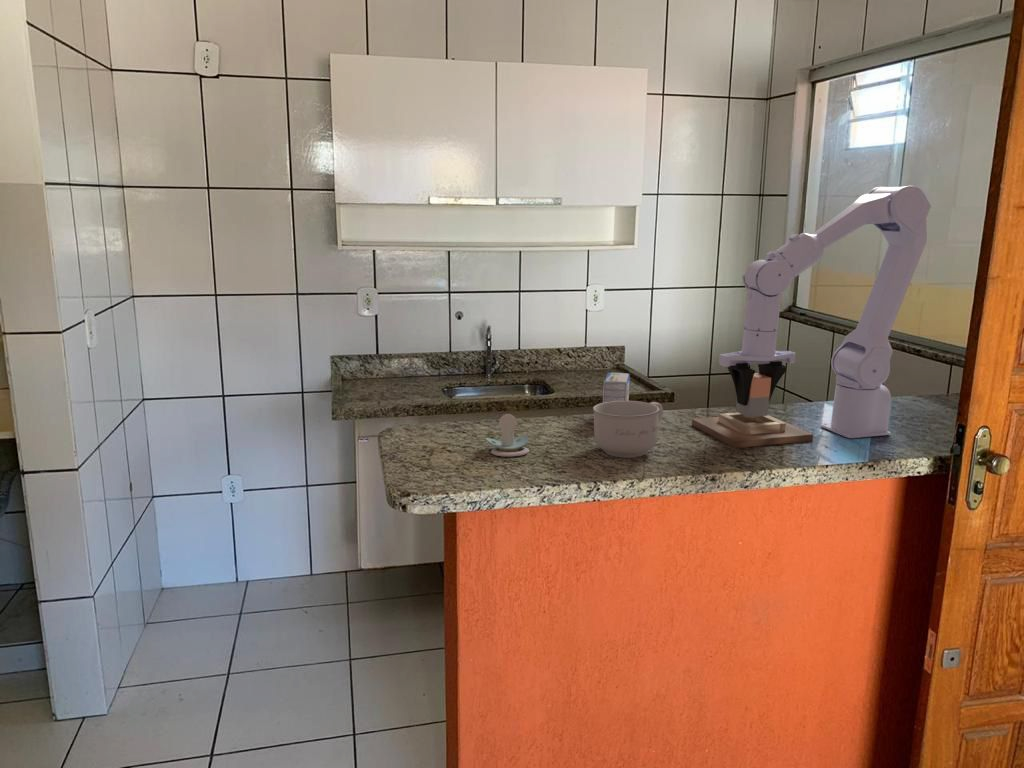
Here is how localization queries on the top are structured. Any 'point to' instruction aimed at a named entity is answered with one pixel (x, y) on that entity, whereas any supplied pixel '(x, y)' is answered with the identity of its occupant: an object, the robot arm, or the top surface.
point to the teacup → (626, 427)
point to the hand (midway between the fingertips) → (753, 403)
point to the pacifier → (509, 439)
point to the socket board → (751, 430)
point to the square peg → (757, 397)
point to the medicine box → (616, 387)
